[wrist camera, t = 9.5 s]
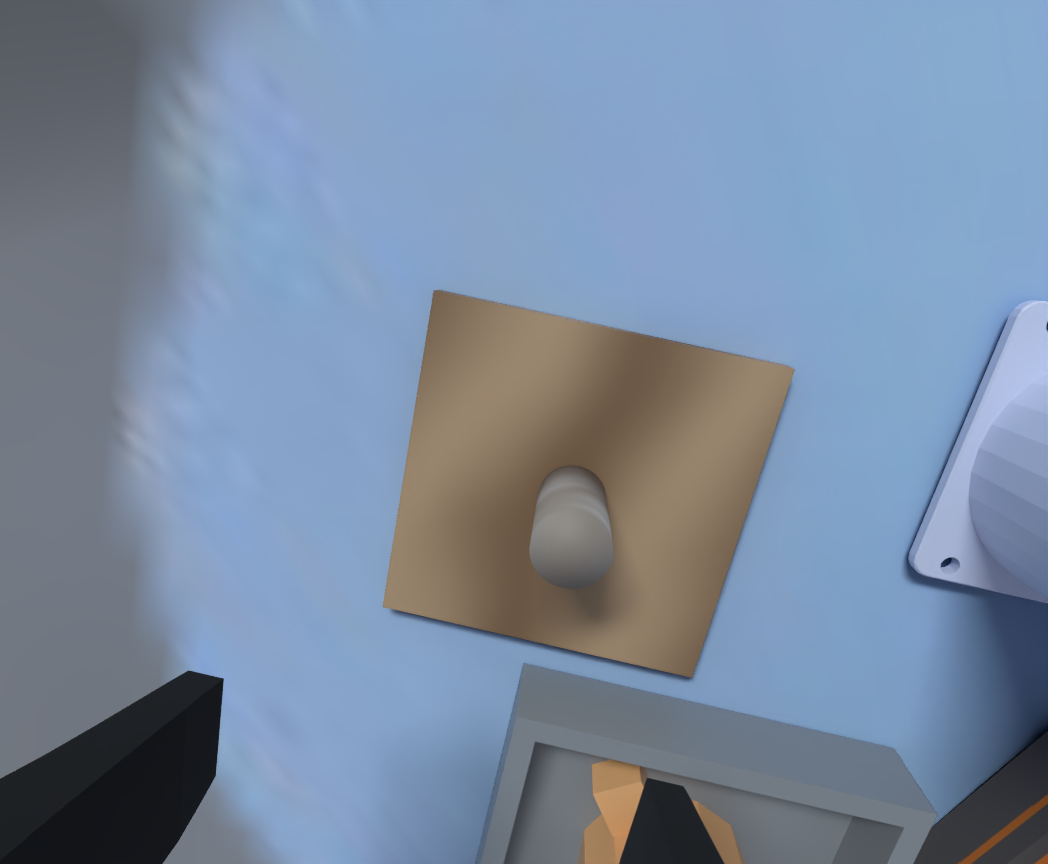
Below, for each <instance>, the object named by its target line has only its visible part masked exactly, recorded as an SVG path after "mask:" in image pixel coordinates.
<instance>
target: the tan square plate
mask: <svg viewBox="0 0 1048 864" xmlns="http://www.w3.org/2000/svg"><path fill="white" fill-rule="evenodd" d="M794 370H795V369H793V368H791V367H789V366H787V365H782V364H777V363H773V362H768V361H763V360H759V359H754V358H750V357H745V356H740V355H736V354H731V353H727V352H722V351H717V350H713V349H708V348H704V347H699V346H694V345H690V344H685V343H681V342H676V341H671V340H667V339H662V338H658V337H653V336H648V335H644V334H639V333H635V332H630V331H625V330H621V329H616V328H612V327H607V326H602V325H598V324H593V323H589V322H584V321H579V320H575V319H570V318H565V317H561V316H556V315H552V314H547V313H542V312H538V311H533V310H529V309H524V308H519V307H515V306H510V305H506V304H501V303H496V302H492V301H487V300H483V299H478V298H473V297H469V296H464V295H460V294H455V293H450V292H446V291H441V290H435V291H434V293H433V299H432V305H431V311H430V317H429V324H428V330H427V336H426V342H425V348H424V354H423V361H422V367H421V373H420V379H419V385H418V392H417V398H416V404H415V410H414V416H413V423H412V429H411V435H410V441H409V447H408V453H407V460H406V466H405V472H404V478H403V484H402V491H401V497H400V503H399V509H398V515H397V521H396V528H395V534H394V540H393V546H392V552H391V559H390V565H389V571H388V577H387V583H386V590H385V596H384V602H383V607H386V608H390V609H395V610H399V611H403V612H408V613H412V614H416V615H421V616H425V617H429V618H434V619H438V620H442V621H447V622H451V623H456V624H460V625H464V626H469V627H473V628H477V629H482V630H486V631H490V632H495V633H499V634H503V635H508V636H512V637H517V638H521V639H525V640H530V641H534V642H538V643H543V644H547V645H551V646H556V647H560V648H564V649H569V650H573V651H578V652H582V653H586V654H591V655H595V656H599V657H604V658H608V659H612V660H617V661H621V662H626V663H630V664H634V665H639V666H643V667H647V668H652V669H656V670H660V671H665V672H669V673H673V674H678V675H682V676H687V677H691V678H692V677H693V674H694V671H695V668H696V665H697V662H698V659H699V656H700V653H701V650H702V647H703V644H704V641H705V638H706V635H707V632H708V629H709V626H710V623H711V620H712V617H713V614H714V611H715V608H716V605H717V602H718V599H719V596H720V593H721V590H722V587H723V584H724V581H725V578H726V575H727V572H728V569H729V566H730V563H731V560H732V557H733V554H734V551H735V548H736V545H737V542H738V539H739V536H740V533H741V530H742V527H743V524H744V521H745V518H746V515H747V512H748V509H749V506H750V503H751V500H752V497H753V494H754V491H755V488H756V485H757V482H758V479H759V476H760V473H761V470H762V467H763V464H764V461H765V458H766V455H767V452H768V448H769V445H770V442H771V439H772V436H773V433H774V430H775V427H776V424H777V421H778V418H779V415H780V412H781V409H782V406H783V403H784V400H785V397H786V394H787V391H788V388H789V385H790V382H791V379H792V376H793V373H794Z"/></svg>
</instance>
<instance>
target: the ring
mask: <svg viewBox="0 0 1048 864" xmlns="http://www.w3.org/2000/svg"><path fill="white" fill-rule="evenodd" d="M647 778H648V775H647V773H646V771H645V768H644V767H643V766H638V765H634V764H630V763H625V762H621V761H617V760H612V759H610V760H607V761H603V762H599V763H596V764H592V783H593V796H594V798H595V800H596V802H597V804H598V806H599V809H600V811H601V813H602V814H601V815H600V816H599V817H598V818H597V819H596V820H595V821H593V822H592V823H591V824H590V825H589V826H588V827H587V828H586V829H585V830H584V835H583V840H582V845H581V850H580V855H579V860H578V864H619V862H620V858H621V855H622V852H623V849H624V846H625V843H626V840H627V837H628V834H629V831H630V828H631V825H632V822H633V819H634V816H635V813H636V809H637V806H638V803H639V800H640V797H641V794H642V791H643V788H644V785H645V782H646V779H647ZM692 802H693V804H694V806H695V808H696V810H697V812H698V814H699V816H700V818H701V820H702V822H703V823H704V825H705V827H706V829H707V831H708V833H709V835H710V837H711V839H712V841H713V843H714V845H715V846H716V848H717V850H718V852H719V854H720V856H721V858H722V860H723V861H724V863H725V864H745V860H744V857H743V855H742V852H741V850H740V847H739V845H738V843H737V840H736V838H735V835H734V833H733V830H732V828H731V825H730V824H728V823H727V822H726V821H724V820H723V819H721V818H720V817H719V816H717V815H716V814H714V813H713V812H712V811H710V810H709V809H707V808H706V807H705V806H703V805H702V804H700V803H699V802H698V801H693V800H692Z"/></svg>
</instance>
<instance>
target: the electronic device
mask: <svg viewBox="0 0 1048 864" xmlns="http://www.w3.org/2000/svg"><path fill="white" fill-rule="evenodd" d="M913 864H1048V731H1047V732H1046V733H1045V734H1044V735H1042V736H1041V737H1040V738H1039V739H1038V740H1036V741H1035V742H1034V743H1033V744H1032V745H1030V746H1029V747H1028V748H1027V749H1026V750H1024V751H1023V752H1022V753H1021V754H1019V755H1018V756H1017V757H1016V758H1015V759H1013V760H1012V761H1011V762H1010V763H1009V764H1007V765H1006V766H1005V767H1004V768H1003V769H1001V770H1000V771H999V772H998V773H997V774H995V775H994V776H993V777H992V778H991V779H989V780H988V781H987V782H986V783H985V784H983V785H982V786H981V787H980V788H979V789H977V790H976V791H975V792H974V793H973V794H971V795H970V796H969V797H968V798H967V799H965V800H964V801H963V802H962V803H961V804H959V805H958V806H957V807H956V808H955V809H953V810H952V811H951V812H950V813H949V814H947V815H946V816H945V817H944V818H943V819H941V820H940V821H939V822H938V823H936V824H935V825H934V826H933V827H932V828H931V829H930V831H929V833H928V835H927V837H926V839H925V841H924V843H923V845H922V847H921V849H920V851H919V853H918V855H917V857H916V859H915V861H914V863H913Z"/></svg>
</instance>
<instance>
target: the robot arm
mask: <svg viewBox="0 0 1048 864" xmlns="http://www.w3.org/2000/svg"><path fill="white" fill-rule="evenodd" d="M1047 322H1048V302H1046V301H1036V300H1028V301H1026V302H1023V303H1020V304H1019V305H1018V306H1016V307H1015V308H1014V309H1013V311H1012V312H1011V314H1010V315H1009V317H1008V320H1007V322H1006V325H1005V327H1004V329H1003V332H1002V334H1001V336H1000V339H999V341H998V344H997V346H996V348H995V351H994V353H993V355H992V358H991V360H990V363H989V365H988V367H987V370H986V372H985V374H984V377H983V379H982V382H981V384H980V386H979V389H978V391H977V393H976V396H975V398H974V401H973V403H972V405H971V408H970V410H969V412H968V415H967V417H966V420H965V422H964V424H963V427H962V429H961V431H960V434H959V436H958V439H957V441H956V443H955V446H954V448H953V450H952V453H951V455H950V458H949V460H948V462H947V465H946V467H945V469H944V472H943V474H942V477H941V479H940V481H939V484H938V486H937V488H936V491H935V493H934V495H933V498H932V500H931V503H930V505H929V507H928V510H927V512H926V514H925V517H924V519H923V522H922V524H921V526H920V529H919V531H918V533H917V536H916V538H915V541H914V543H913V545H912V548H911V550H910V552H909V558H908V559H909V563H910V565H911V566H912V567H913V568H914V569H915V570H916V571H917V572H918V573H919V574H921V575H924V576H927V577H931V578H936V579H940V580H944V581H949V582H953V583H958V584H962V585H967V586H971V587H976V588H980V589H985V590H989V591H994V592H998V593H1003V594H1007V595H1012V596H1016V597H1020V598H1025V599H1029V600H1034V601H1038V602H1043V603H1047V604H1048V331H1047V329H1046V325H1047ZM949 557H952V561H951V562H950V564H949V565H948V566H945V567H941V563H942V562H943V560H945V559H947V558H949ZM223 680H224V679H223V678H218V677H214V676H210V675H206V674H201V673H197V672H193V671H187V672H185V673H184V674H182V675H180V676H178V677H177V678H175V679H173V680H171V681H170V682H168V683H166V684H165V685H163V686H161V687H160V688H158V689H156V690H155V691H153V692H151V693H150V694H148V695H146V696H144V697H143V698H142V699H139V700H138V701H136V702H135V703H133V704H131V705H130V706H128V707H126V708H125V709H123V710H121V711H119V712H118V713H116V714H114V715H113V716H111V717H109V718H108V719H106V720H104V721H103V722H101V723H99V724H98V725H96V726H94V727H92V728H91V729H89V730H87V731H85V732H84V733H82V734H80V735H78V736H77V737H75V738H73V739H71V740H70V741H68V742H66V743H65V744H63V745H61V746H59V747H58V748H56V749H54V750H52V751H51V752H49V753H47V754H45V755H44V756H42V757H40V758H38V759H37V760H35V761H33V762H31V763H29V764H27V765H25V766H23V767H21V768H20V769H18V770H16V771H14V772H12V773H10V774H9V775H6V776H5V777H3V778H1V779H0V864H162V863H163V862H164V861H165V859H166V858H167V856H168V855H169V853H170V852H171V851H172V849H173V848H174V846H175V845H176V844H177V842H178V841H179V839H180V837H181V836H182V834H183V832H184V831H185V829H186V827H187V825H188V824H189V822H190V820H191V819H192V817H193V815H194V813H195V812H196V810H197V808H198V806H199V805H200V803H201V801H202V799H203V798H204V796H205V794H206V792H207V790H208V789H209V787H210V785H211V783H212V781H213V780H214V778H215V776H216V765H217V753H218V741H219V729H220V717H221V705H222V693H223ZM619 864H725V863H724V861H723V860H722V858H721V856H720V854H719V852H718V850H717V848H716V846H715V845H714V843H713V841H712V839H711V837H710V835H709V833H708V831H707V829H706V827H705V825H704V823H703V822H702V820H701V818H700V816H699V814H698V812H697V810H696V808H695V806H694V804H693V802H692V800H691V798H690V796H689V795H688V793H687V791H686V789H685V788H684V786H681V785H677V784H672V783H668V782H664V781H660V780H655V779H651V778H647V779H646V782H645V785H644V788H643V791H642V794H641V797H640V800H639V803H638V806H637V809H636V813H635V816H634V819H633V822H632V825H631V828H630V831H629V834H628V837H627V840H626V843H625V846H624V849H623V852H622V855H621V858H620V862H619Z"/></svg>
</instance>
